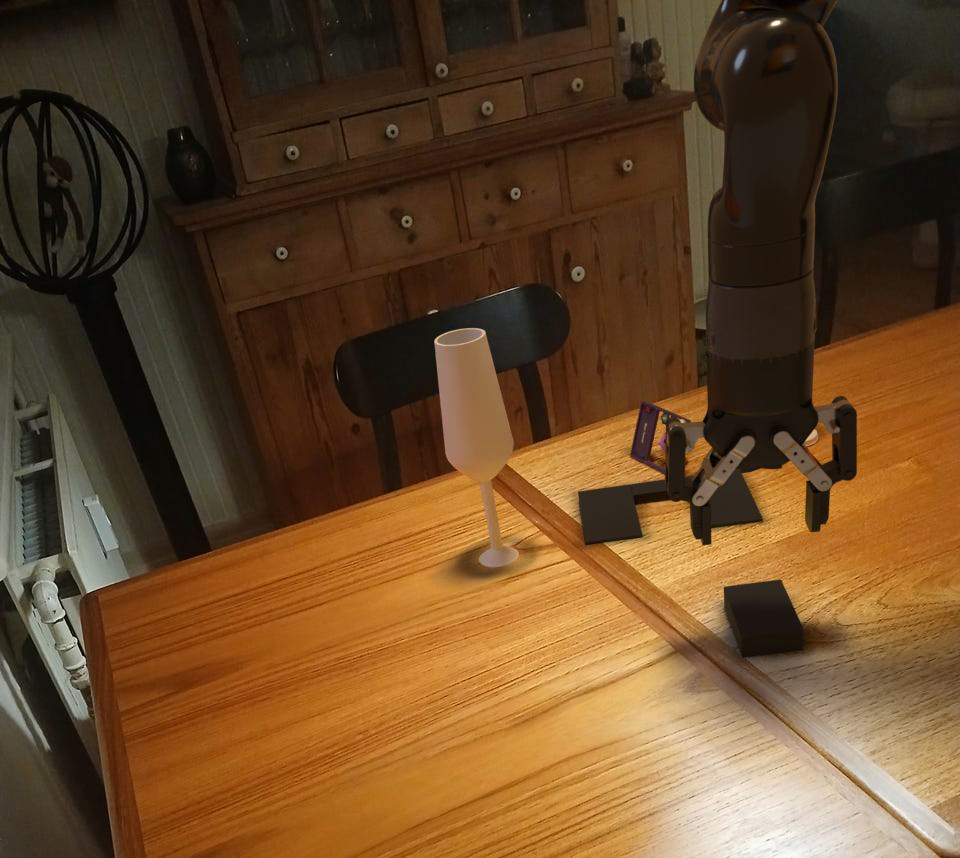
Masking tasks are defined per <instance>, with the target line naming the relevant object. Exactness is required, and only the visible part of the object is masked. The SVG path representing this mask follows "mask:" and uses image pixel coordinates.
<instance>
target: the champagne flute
mask: <svg viewBox="0 0 960 858" xmlns="http://www.w3.org/2000/svg"><path fill="white" fill-rule="evenodd" d="M433 343H434V352H435V363H436V372H437V382H438V383H437V384H438V392H439V403H440V413H441V422H442V433H443V443H444V444H443V445H444V452H445V457H446V459H447V461H448V462H449V464H450V465H451V466H452V467H453V468H454V469H455V470H457V471H458V472H459V473H460V474H462V475H464V476H466V477H468V478H469V479H471V480H473V481H476V482H479V486H480V492H481V498H482V503H483V509H484V515H485V519H486V525H487V531H488V535H489V536H488V537H489V542H490V548H489V549H487V550H485V551H484V552H483V553H482V554H480V556H479V558H478V562H479V564H481V565H482V566H484V567H486V568H487V567H488V568H501V567H505V566H508V565H511V564H512V563H514V562H515V561H516V560H517V559H518V558H519V555H520V554H519V551H518V550H517V549H516V548H514V547H511V546H505V545H503V539H502V534H501V529H500V523H499V516H498V511H497V504H496V500H495V494H494V488H493V483H492V479H494V478H496V477H497V475H499V473H500V472H501V471H502V470H503V469H504V467H505V466H506V464H508V462H509V460H510V459H511V456H512V454H513V450H514V447H515V442H514V438H513V434H512V430H511V427H510V421H509V419H508V414H507V411H506V407H505V402H504V398H503V394H502V391H501V388H500V383H499V379H498V375H497V372H496V368H495V364H494V360H493V356H492V351H491V349H490V344H489V340H488V337H487V332H486V330H484V329H482V328H476V327H469V328H468V327H467V328H459V329H454V330H450V331H447V332H445V333H442V334H440V335H439V336H437V337H435V339H434V342H433Z"/></svg>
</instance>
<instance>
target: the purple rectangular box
mask: <svg viewBox="0 0 960 858" xmlns="http://www.w3.org/2000/svg"><path fill="white" fill-rule="evenodd" d="M660 413H661V416H660ZM659 417H660V419H661V420H660V421H661V424H663V425H664V426H666V423H667V422H668V420H670V419H672V418H677V419H679V420H680V421H681V423H687V422H692V421H691V419H689V418H687V417H685V416H682V415H680V414H678V413H675V412H673V411H670V410H667V409H665V408H663V407H661V406H658V405H656V404H653V403H651V402H648V401H646V400H641V401H640V405H639V410H638V415H637V420H636V424H635V429H634V434H633V439H632V443H631V448H630V453H629V455H630V457H631V458H633V459H635V460H636V461H638V462H641V463H643V464H644V465H647V466H649V467H650V468H653V469H655V470H656V471H659V472H660V473H663V474H665V467H662V466H660V465H658V464H656V463H655V462H652V461H650V458H651V453H652V449H653V446H654V440H655V436H656V430H657V427H658V421H659ZM665 444H666V431H665V432H664V433H663V435H662V436H661V438H660V441H659V442H657V445H658V446H660V448H661V450H662V452H663V453H664V454H665Z"/></svg>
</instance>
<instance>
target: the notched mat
mask: <svg viewBox="0 0 960 858" xmlns="http://www.w3.org/2000/svg"><path fill="white" fill-rule="evenodd" d="M694 475H695V474H694ZM694 475H687V476H685V479H686V480H691V479H692V478H693V477H694ZM577 495H578V503H579V504H578V505H579V511H580V518H581V525H582V531H583V540H584V545H585V546H589V545H590V546H591V545H597V544H598V545H599V544H605V543H610V542H611V543H613V542H621V541H626V540H635V539H636V540H637V539H642V538H643V537H644V536H643V531H642V527H641V523H640V520H639V514H638V510H637V506H636V505H639V504H646V503H653V502H654V503H655V502H661V501H668V500H670V499H669V496H668V490H667V488H666V485H665V478H664V479H658V480H651V481H644V482H637V483H629V484H623V485H614V486H607V487H600V488H594V489H586V490H579V491H577ZM709 503H710V505H711V529H717V528H724V527H732V526H741V525H748V524H755V523H761V522H764V518H763V516H762V514H761V512H760V510H759V508H758V505H757V503H756V502H755V499H754V497H753V494H752V492H751V489H750V488H749V486H748V484H747V481H746V480H745V478H744V475H743V473H740V471H738V470H734V471H733V472H732V474H731V475H730V476H729V478H728V479H727V480H726V482H725V483H724V484H723V485H722V486H719V487H718V488H717V489H716V491H715V492H714V493H713V495H712V496H711V497H710V498H709Z"/></svg>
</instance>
